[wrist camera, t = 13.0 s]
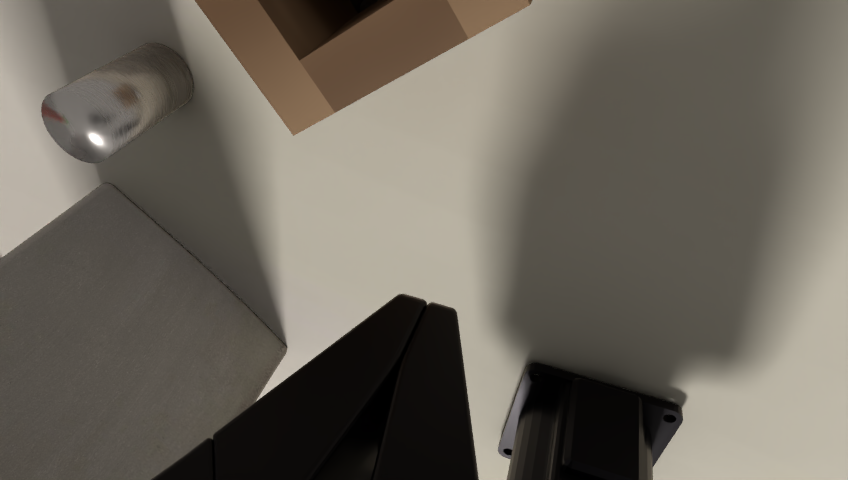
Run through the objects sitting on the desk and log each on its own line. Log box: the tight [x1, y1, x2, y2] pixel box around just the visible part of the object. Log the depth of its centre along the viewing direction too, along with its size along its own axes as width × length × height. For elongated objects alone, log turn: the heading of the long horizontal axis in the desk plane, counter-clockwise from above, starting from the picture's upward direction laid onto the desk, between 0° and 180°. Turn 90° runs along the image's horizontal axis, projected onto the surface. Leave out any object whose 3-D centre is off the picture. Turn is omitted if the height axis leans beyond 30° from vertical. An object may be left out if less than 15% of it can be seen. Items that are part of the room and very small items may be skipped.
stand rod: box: [41, 43, 194, 163], centre depth 21 cm, size 2×2×4 cm
